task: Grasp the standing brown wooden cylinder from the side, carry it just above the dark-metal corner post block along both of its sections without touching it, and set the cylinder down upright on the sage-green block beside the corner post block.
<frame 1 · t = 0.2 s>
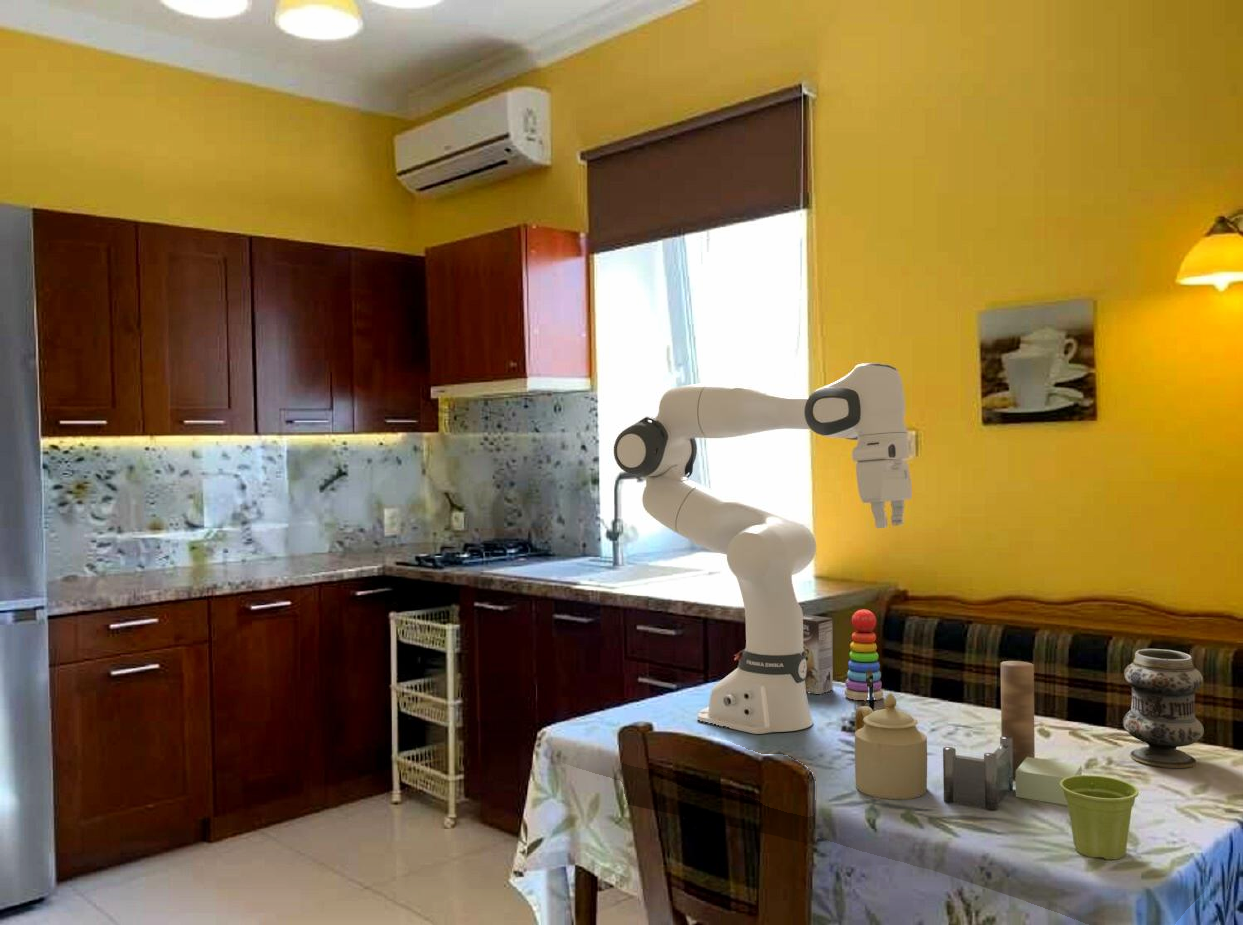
hand: (889, 526, 186), 39 cm above the table, tool pointing down, fingers open, 8 cm apart
plant pot: (1099, 853, 135), on the table
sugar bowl: (880, 786, 163), on the table
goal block: (1049, 793, 158), on the table
corner post block: (991, 808, 152), on the table
apothecary jar: (1163, 760, 173), on the table
stacking toy: (863, 698, 218), on the table
coffee box: (808, 690, 226), on the table
brown wooden cylinder: (1018, 774, 167), on the table
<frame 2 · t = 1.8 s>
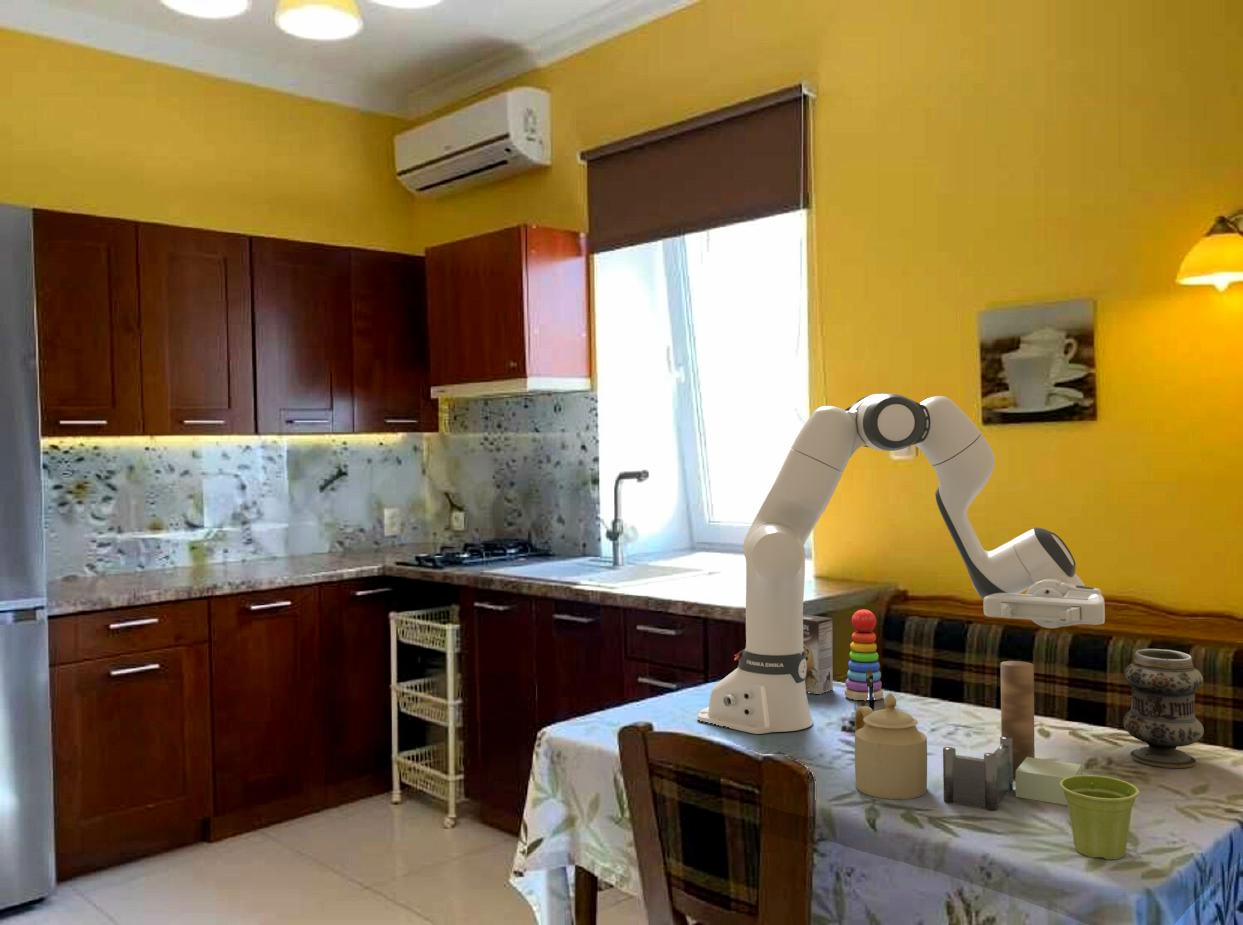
hand: (1035, 614, 178), 24 cm above the table, tool horizontal, fingers open, 8 cm apart
nothing on the table moved.
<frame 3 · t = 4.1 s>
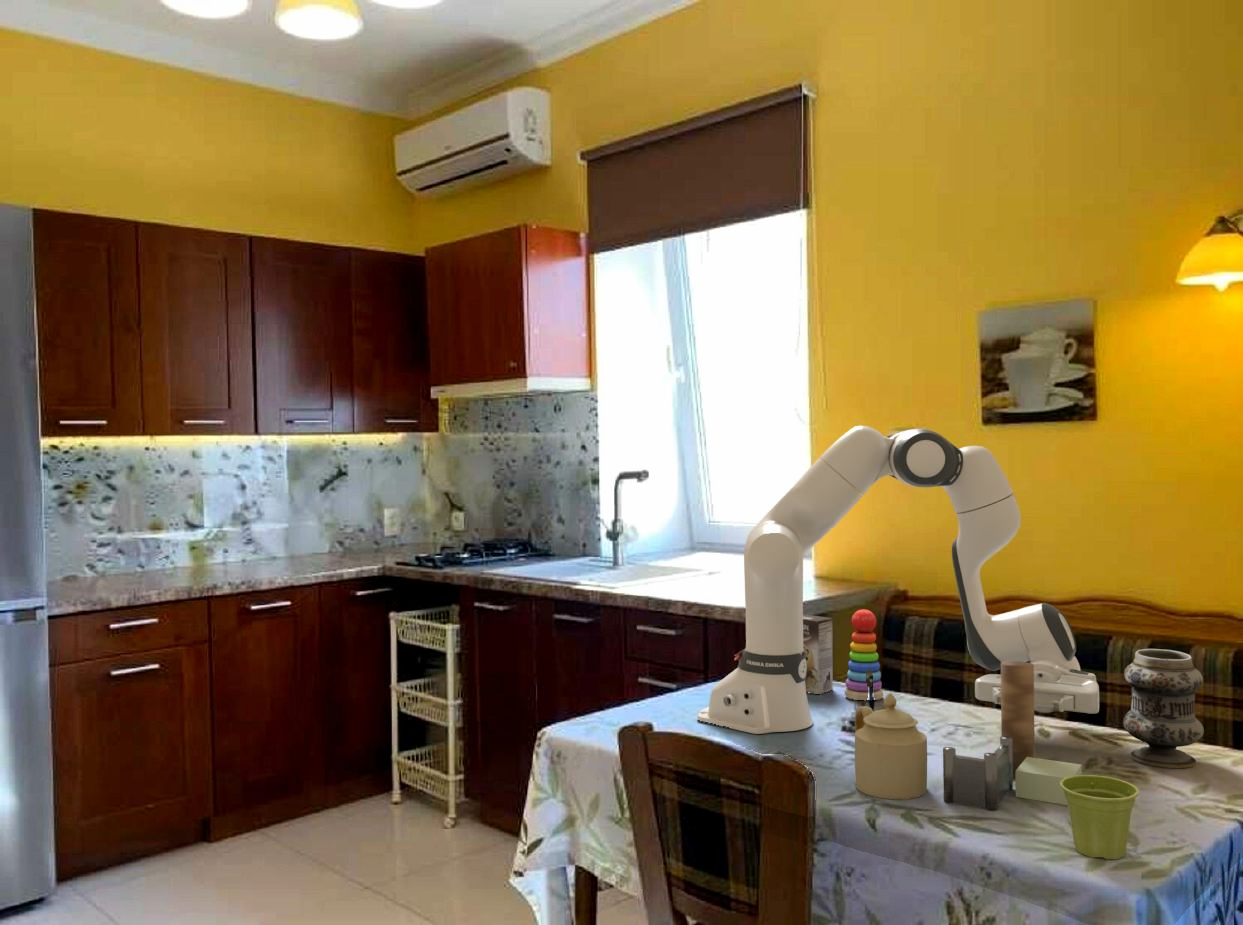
hand: (1027, 703, 173), 10 cm above the table, tool horizontal, fingers open, 8 cm apart
nothing on the table moved.
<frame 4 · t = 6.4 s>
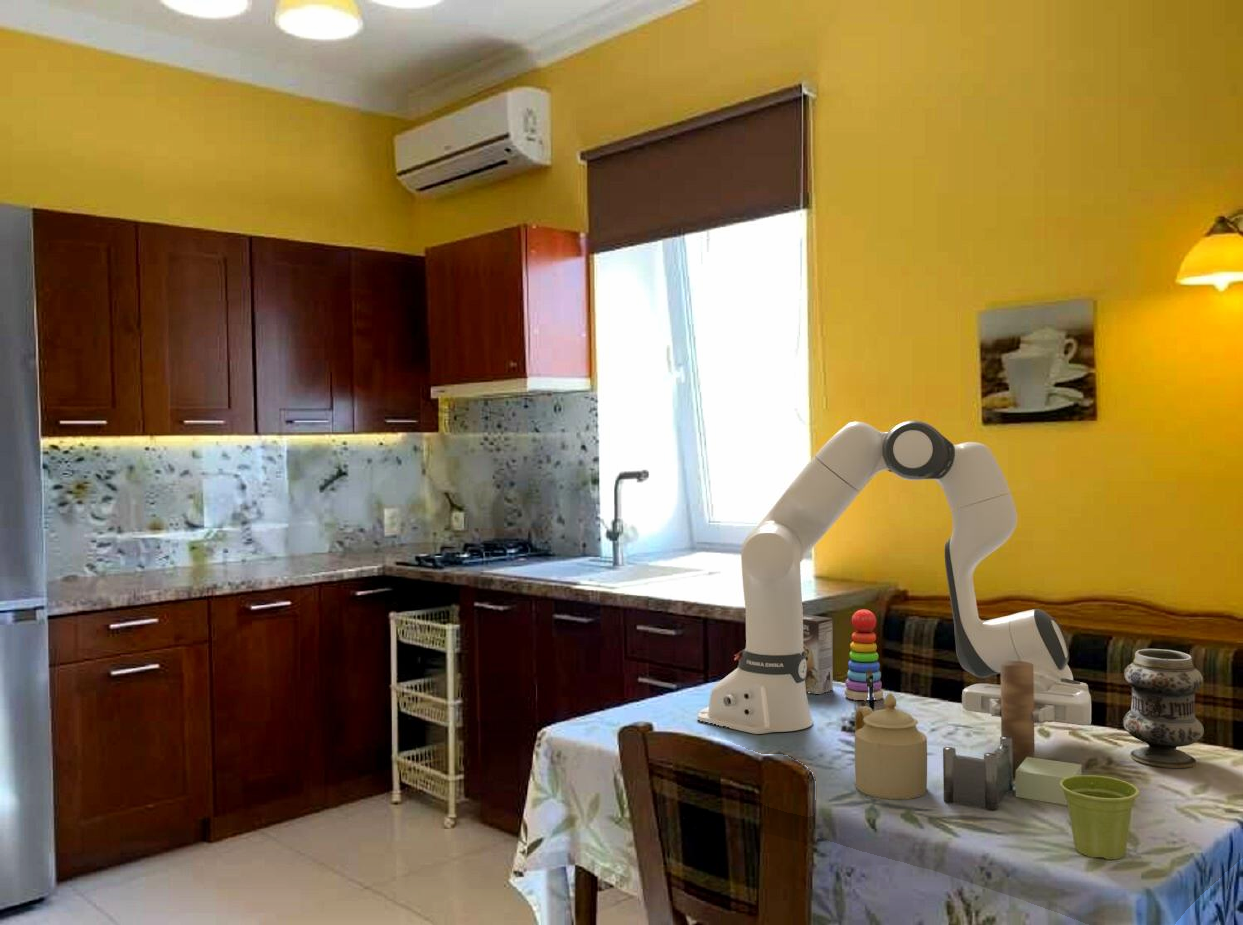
hand: (1016, 714, 166), 10 cm above the table, tool horizontal, fingers closed on brown wooden cylinder, 5 cm apart
brown wooden cylinder: (1018, 774, 167), on the table, touching gripper
everything else where it was.
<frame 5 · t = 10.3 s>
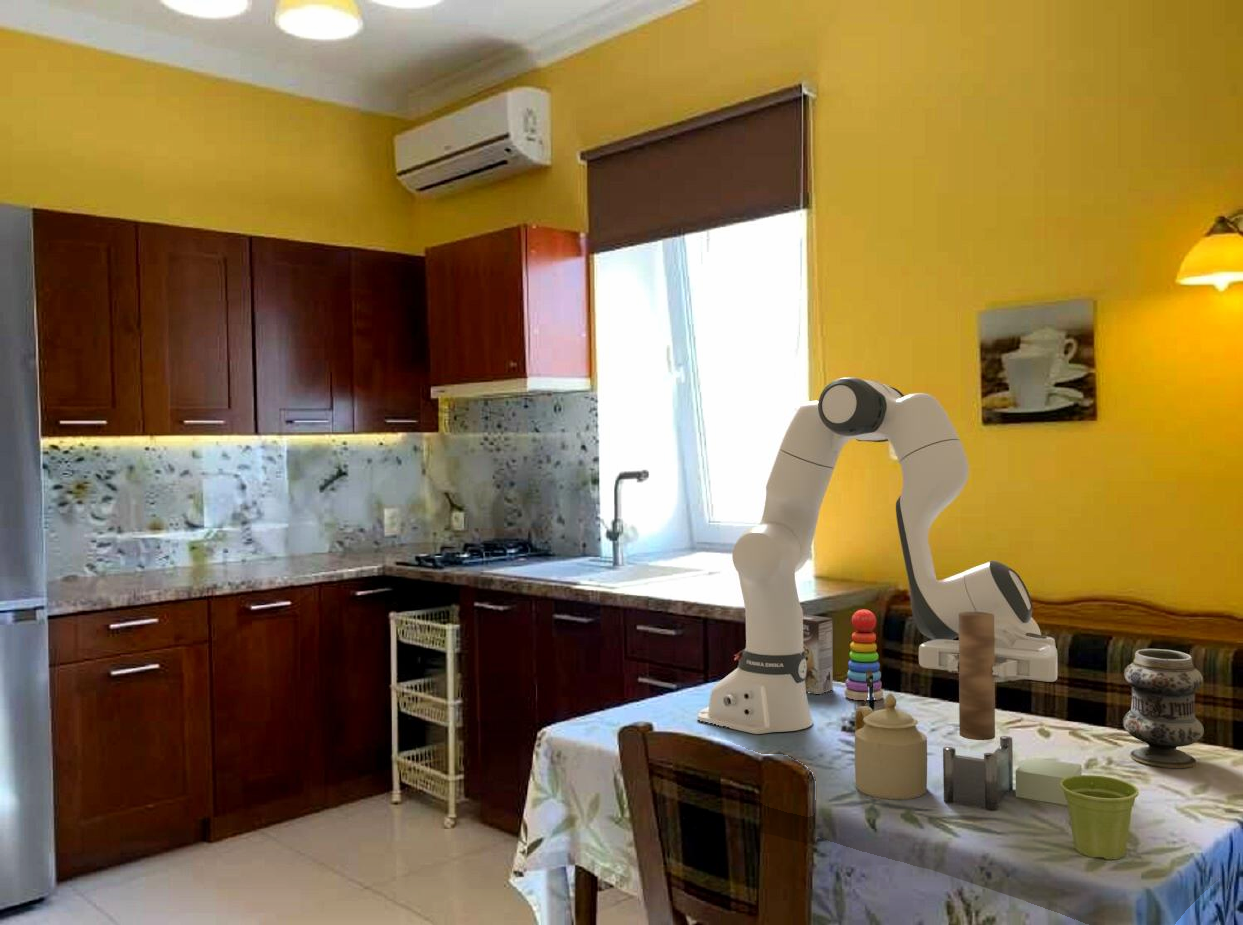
hand: (975, 669, 152), 21 cm above the table, tool horizontal, fingers closed on brown wooden cylinder, 5 cm apart
brown wooden cylinder: (977, 735, 153), point 11 cm above the table, touching gripper
everything else where it was.
when the fingers open (15 cm above the table, at t = 14.2 s): brown wooden cylinder stays where it is, resting on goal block.
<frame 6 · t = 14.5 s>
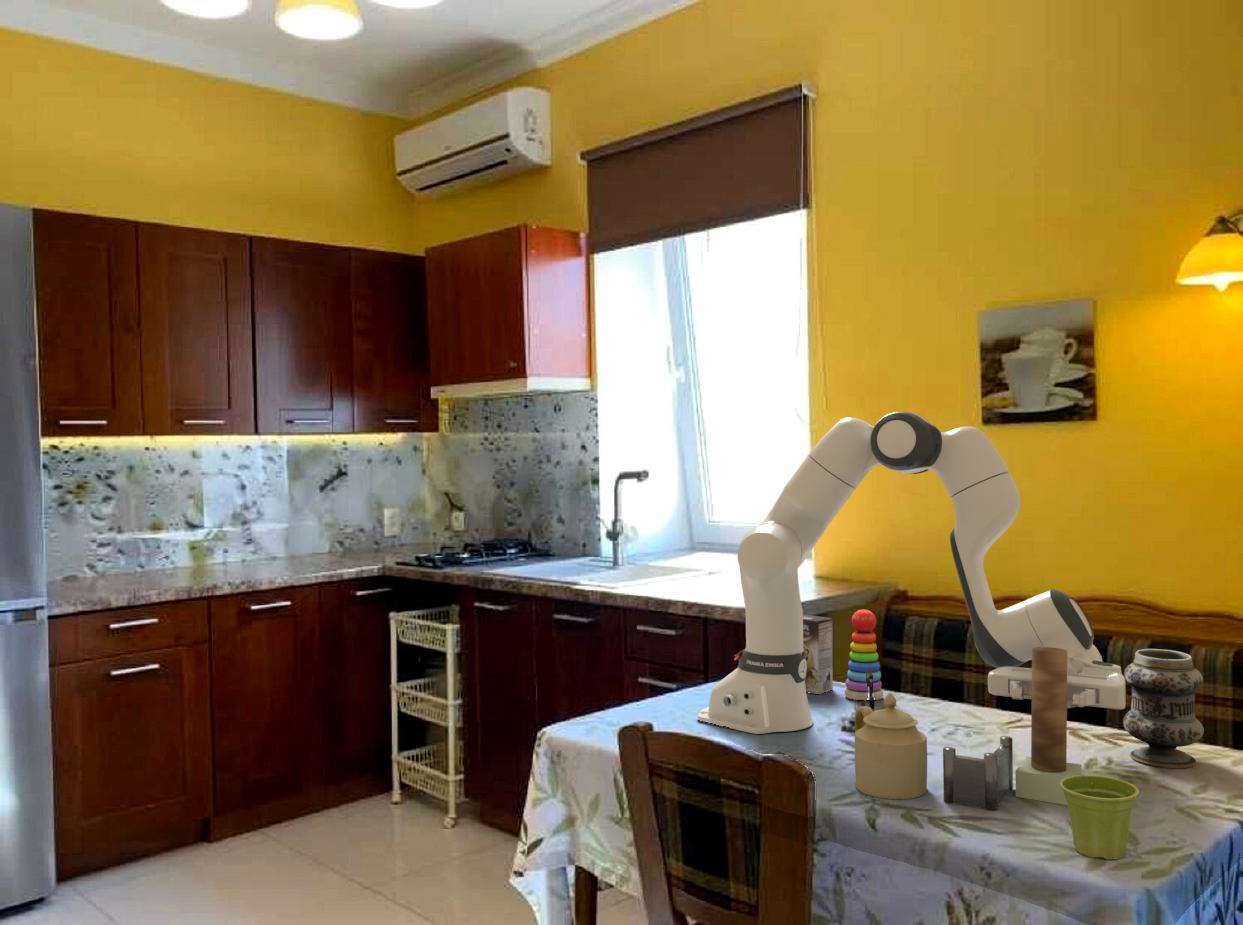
hand: (1046, 697, 157), 15 cm above the table, tool horizontal, fingers open, 7 cm apart
brown wooden cylinder: (1048, 767, 158), point 4 cm above the table, touching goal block
everything else where it was.
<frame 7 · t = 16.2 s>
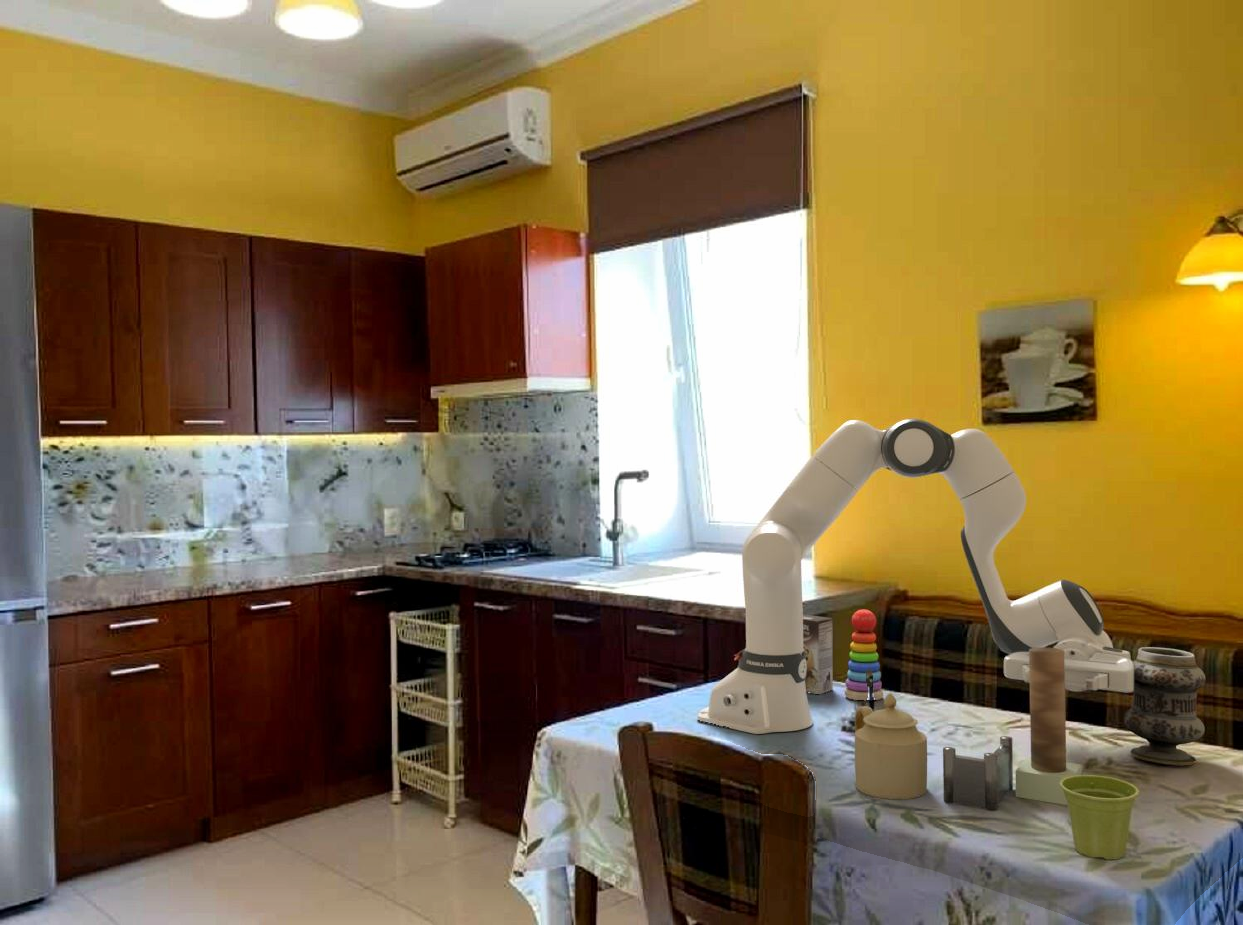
hand: (1059, 681, 167), 15 cm above the table, tool horizontal, fingers open, 8 cm apart
apothecary jar: (1162, 759, 173), on the table, touching arm
everything else where it was.
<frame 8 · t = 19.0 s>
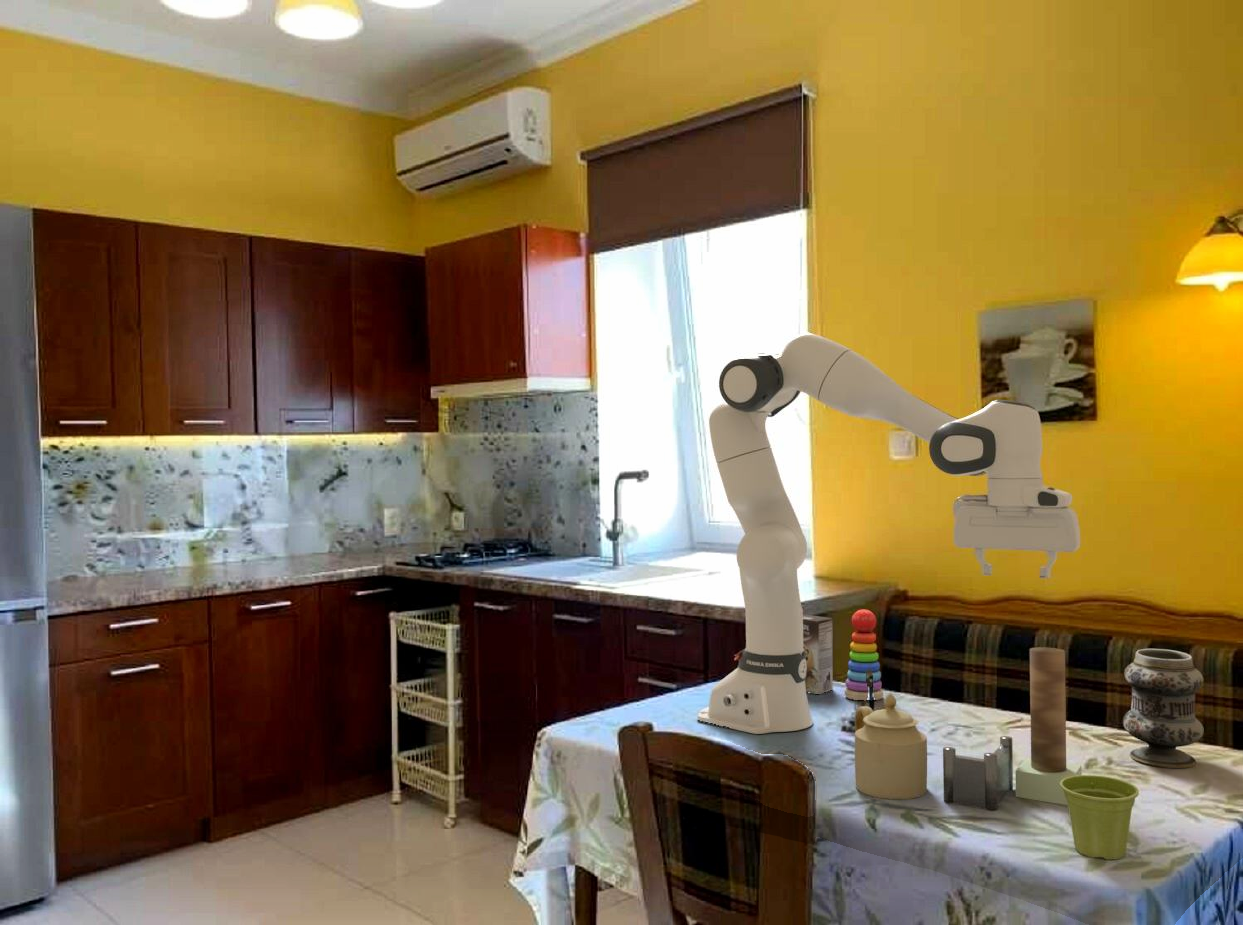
hand: (1015, 576, 175), 31 cm above the table, tool pointing down, fingers open, 8 cm apart
apothecary jar: (1162, 760, 173), on the table
everything else where it was.
at the end: brown wooden cylinder inside the target area on the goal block (0.0 cm from its centre), point 4.0 cm above the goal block's base; brown wooden cylinder tilted 1°; brown wooden cylinder touching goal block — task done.
